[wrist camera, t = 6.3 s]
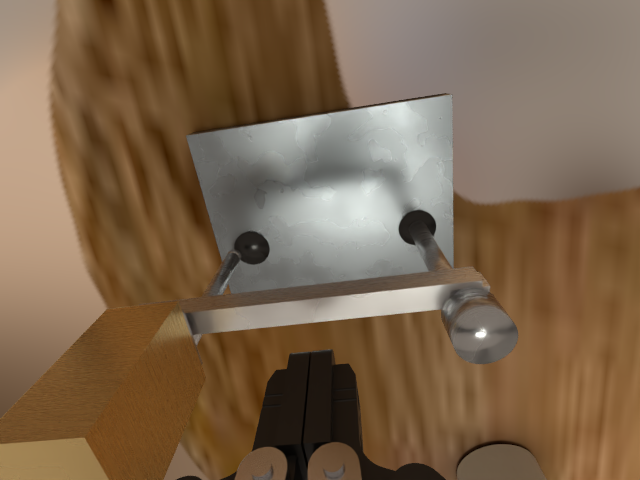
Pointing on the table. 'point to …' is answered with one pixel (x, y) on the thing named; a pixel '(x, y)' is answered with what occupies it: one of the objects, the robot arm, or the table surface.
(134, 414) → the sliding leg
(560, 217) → the table surface
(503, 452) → the travel mug
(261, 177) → the bolt plate
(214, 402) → the table surface
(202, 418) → the table surface
